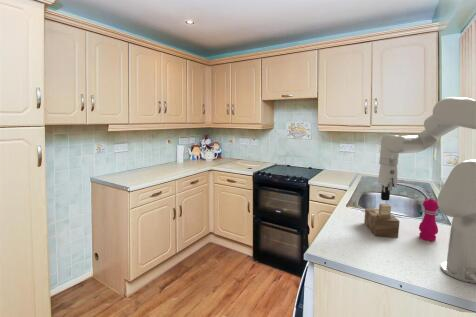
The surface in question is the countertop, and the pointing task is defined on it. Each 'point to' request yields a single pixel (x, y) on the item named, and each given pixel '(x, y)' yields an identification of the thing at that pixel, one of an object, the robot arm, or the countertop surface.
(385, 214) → the peg
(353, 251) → the countertop surface
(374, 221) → the socket block
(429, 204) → the pepper mill
